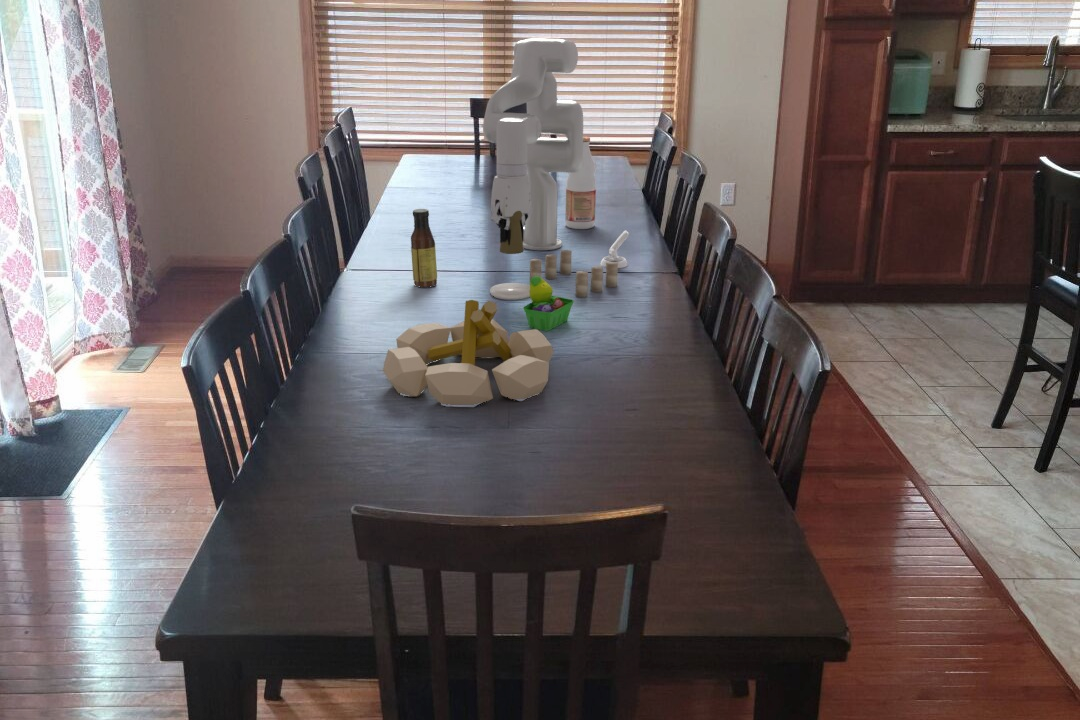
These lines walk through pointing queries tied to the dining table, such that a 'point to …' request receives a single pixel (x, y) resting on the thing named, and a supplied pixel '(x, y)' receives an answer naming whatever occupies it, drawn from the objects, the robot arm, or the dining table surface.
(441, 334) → the campfire
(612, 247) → the white plastic lever piece
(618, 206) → the dining table surface
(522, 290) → the white round plate
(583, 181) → the fruit juice
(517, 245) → the cork
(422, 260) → the sauce bottle
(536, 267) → the posts
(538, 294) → the fruit basket
